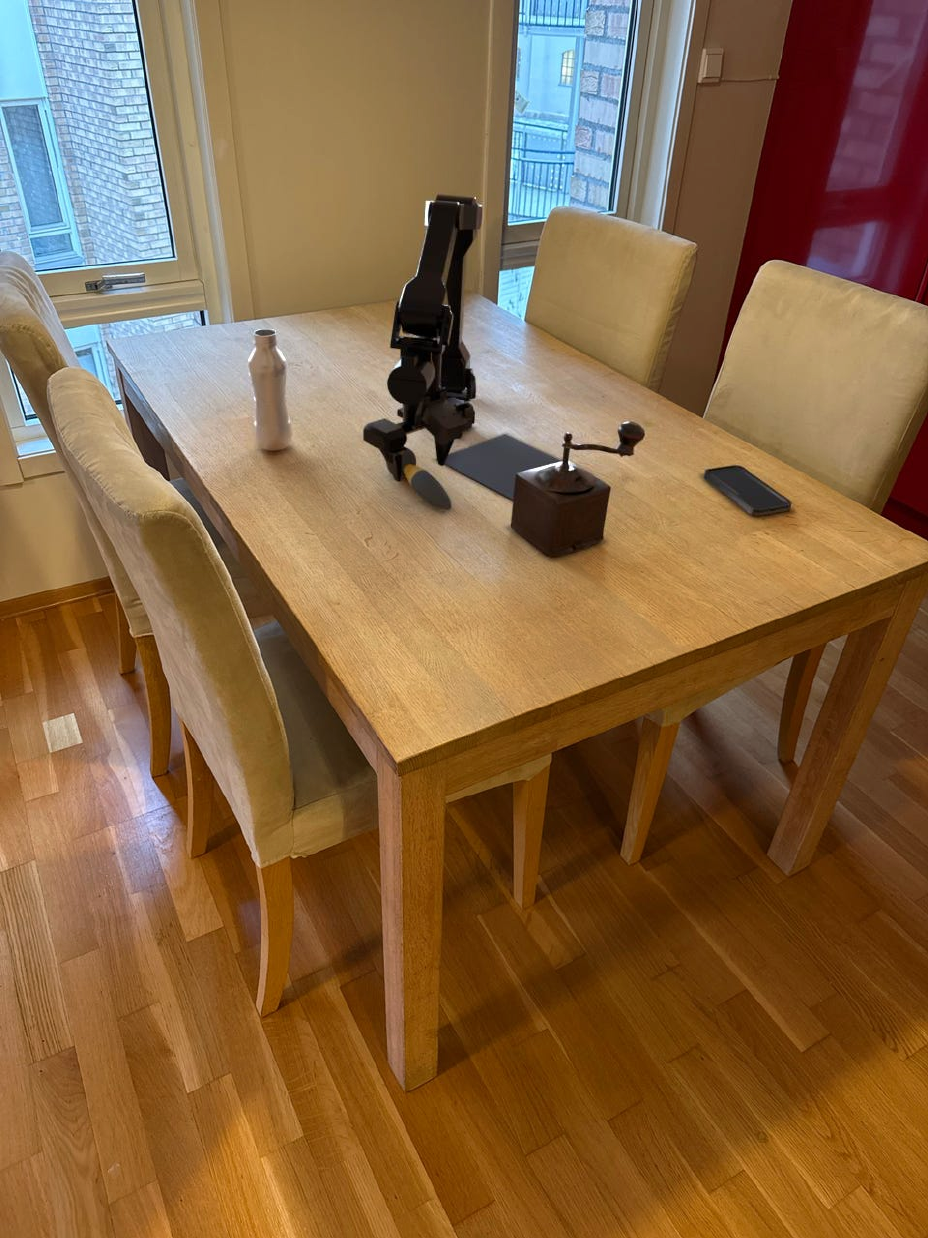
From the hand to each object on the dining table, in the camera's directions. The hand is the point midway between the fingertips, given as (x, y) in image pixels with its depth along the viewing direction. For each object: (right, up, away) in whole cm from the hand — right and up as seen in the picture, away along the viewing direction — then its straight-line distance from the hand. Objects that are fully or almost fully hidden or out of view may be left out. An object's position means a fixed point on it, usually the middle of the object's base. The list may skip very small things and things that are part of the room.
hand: (419, 472), depth 145 cm
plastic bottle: (-26, +6, +11) cm, 29 cm away
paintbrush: (0, -2, +2) cm, 3 cm away
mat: (+15, +3, +9) cm, 18 cm away
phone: (+54, -3, +6) cm, 55 cm away
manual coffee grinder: (+23, -10, -7) cm, 27 cm away
